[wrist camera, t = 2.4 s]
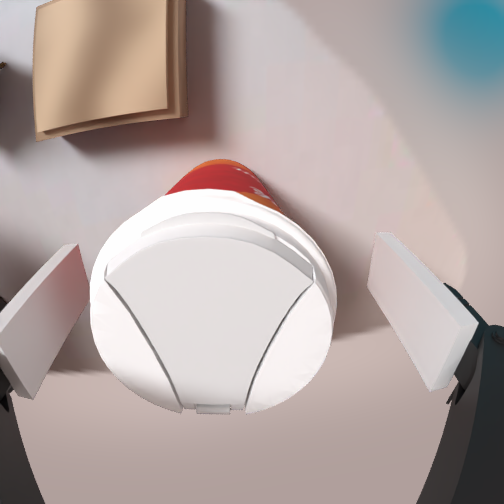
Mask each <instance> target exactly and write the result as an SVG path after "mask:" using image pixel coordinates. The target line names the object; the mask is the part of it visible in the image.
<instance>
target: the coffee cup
mask: <svg viewBox="0 0 504 504" xmlns="http://www.w3.org/2000/svg"><path fill="white" fill-rule="evenodd" d="M90 303H91V308H90V320H91V329H92V334H93V338H94V342H95V344H96V347H97V349H98V351H99V354H100V356H101V358H102V359H103V361H104V362H105V364H106V365H107V367H108V368H109V370H110V371H111V372H112V373H113V374H114V375H115V377H116V378H117V379H118V380H120V382H122V383H123V384H124V385H125V386H126V387H127V388H128V389H130V390H131V391H133V392H134V393H136V394H137V395H139V396H140V397H142V398H143V399H145V400H147V401H149V402H151V403H153V404H155V405H158V406H160V407H163V408H165V409H168V410H171V411H174V412H178V413H181V412H182V409H183V407H184V408H185V409H196V412H197V414H230V410H243V408H244V405H245V413H246V414H250V413H255V412H259V411H262V410H265V409H267V408H270V407H273V406H275V405H277V404H279V403H281V402H283V401H285V400H286V399H288V398H290V397H291V396H293V395H294V394H296V393H297V392H299V391H300V390H301V389H302V388H303V387H304V386H305V385H307V384H308V383H309V382H310V380H311V379H312V378H313V377H314V376H315V375H316V373H317V372H318V371H319V369H320V367H321V366H322V364H323V362H324V361H325V358H326V356H327V353H328V350H329V348H330V345H331V341H332V334H333V324H334V321H335V316H336V309H337V290H336V284H335V280H334V276H333V272H332V270H331V268H330V266H329V263H328V261H327V259H326V257H325V255H324V253H323V252H322V251H321V249H320V248H319V247H318V245H317V244H316V243H315V241H314V240H313V238H312V237H310V236H309V235H308V234H307V233H306V232H305V231H304V230H303V229H302V228H301V227H300V226H299V225H298V224H296V223H295V222H293V221H292V220H290V219H289V218H287V217H286V216H284V214H283V213H282V211H281V210H280V208H279V207H278V205H277V204H276V203H275V201H274V200H273V198H272V197H271V196H270V194H269V193H268V191H267V190H266V189H265V187H264V186H263V185H262V183H261V182H260V181H259V179H258V178H257V177H256V176H255V175H254V173H252V172H251V171H250V170H249V169H248V168H247V167H245V166H244V165H242V164H240V163H238V162H235V161H232V160H226V159H216V160H211V161H207V162H205V163H202V164H200V165H199V166H197V167H195V168H194V169H193V170H191V171H190V172H189V173H188V174H187V175H185V176H184V177H183V178H182V179H181V180H180V181H179V182H178V183H177V184H176V185H175V186H174V187H173V188H172V189H171V190H169V191H168V192H167V193H166V194H165V195H164V196H162V197H160V198H159V199H157V200H156V201H154V202H153V203H152V204H150V205H149V206H147V207H146V208H145V209H143V210H142V211H140V212H139V213H137V214H136V215H134V216H133V217H131V218H130V219H128V220H127V221H125V222H124V223H123V224H122V225H121V226H120V227H119V228H118V229H117V230H116V231H115V232H114V233H113V234H112V235H111V236H110V237H109V239H108V240H107V242H106V243H105V245H104V246H103V248H102V249H101V251H100V253H99V255H98V257H97V260H96V262H95V265H94V267H93V271H92V276H91V281H90ZM230 407H231V408H230Z"/></svg>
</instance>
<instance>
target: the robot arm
mask: <svg viewBox="0 0 504 504" xmlns="http://www.w3.org/2000/svg"><path fill="white" fill-rule="evenodd" d="M367 288H368V290H369V291H370V293H371V294H372V296H373V297H374V299H375V300H376V302H377V304H378V305H379V307H380V308H381V310H382V312H383V313H384V315H385V316H386V318H387V320H388V321H389V323H390V325H391V326H392V328H393V329H394V331H395V333H396V334H397V336H398V338H399V339H400V341H401V342H402V344H403V346H404V348H405V349H406V351H407V353H408V355H409V356H410V358H411V360H412V362H413V363H414V365H415V367H416V369H417V370H418V372H419V374H420V376H421V378H422V379H423V381H424V383H425V385H426V387H427V388H428V390H429V392H432V391H435V390H438V389H442V388H445V387H447V386H448V384H449V382H450V381H451V379H452V377H453V375H455V376H456V378H457V380H458V381H459V382H458V384H457V386H456V387H455V389H454V390H453V392H452V394H451V396H450V397H449V399H448V401H447V402H446V404H449V403H450V401H451V400H452V402H451V406H450V410H449V414H448V418H447V421H446V425H445V428H444V431H443V435H442V438H441V441H440V444H439V447H438V450H437V453H436V456H435V459H434V461H433V464H432V467H431V470H430V472H429V475H428V477H427V480H426V482H425V485H424V487H423V489H422V492H421V494H420V497H419V499H418V501H417V503H416V504H504V327H502V326H498V325H490V326H489V325H488V324H487V323H486V322H485V321H484V320H483V318H482V317H481V316H480V315H479V314H478V313H477V312H476V311H475V310H474V308H472V306H469V303H468V302H467V301H466V300H465V299H463V297H462V296H461V295H460V294H459V292H458V291H457V290H456V289H454V288H452V287H451V286H449V285H448V284H446V283H442V282H441V281H440V280H439V279H438V278H437V277H436V276H435V275H434V274H433V273H432V272H431V271H430V270H429V269H428V268H427V267H426V266H425V265H424V264H423V263H422V262H421V261H420V260H419V259H418V258H417V257H416V256H415V255H414V254H413V253H412V252H411V251H410V250H409V249H408V248H407V247H406V246H405V245H404V244H403V243H402V242H401V241H399V240H398V239H397V238H396V237H395V236H394V235H393V234H392V233H391V232H377V233H375V240H374V247H373V253H372V259H371V265H370V271H369V277H368V282H367ZM89 300H90V287H89V283H88V280H87V276H86V273H85V269H84V265H83V261H82V258H81V254H80V250H79V245H78V244H65V245H64V246H63V247H61V248H60V249H59V250H58V251H57V252H56V253H55V254H54V255H53V256H52V257H51V258H50V259H49V260H48V261H47V262H46V263H45V264H44V265H43V266H42V267H41V268H40V269H39V271H38V272H37V273H36V274H35V275H34V276H33V277H32V278H31V279H30V280H29V281H28V282H27V283H26V284H25V285H24V286H23V288H22V289H21V290H20V291H19V292H18V293H17V294H16V295H15V296H14V298H13V299H12V300H11V301H10V302H9V303H8V304H6V303H5V302H4V301H3V300H2V299H1V298H0V504H45V502H44V500H43V498H42V495H41V493H40V490H39V488H38V485H37V483H36V481H35V478H34V475H33V472H32V469H31V467H30V464H29V461H28V458H27V455H26V452H25V448H24V445H23V442H22V439H21V435H20V431H19V428H18V424H17V420H16V416H15V412H14V407H13V403H12V398H11V396H10V394H9V393H11V392H12V391H13V390H15V392H16V393H17V395H18V396H21V397H24V398H28V399H32V400H33V399H34V397H35V395H36V394H37V392H38V390H39V388H40V385H41V384H42V382H43V380H44V378H45V376H46V374H47V372H48V370H49V368H50V367H51V365H52V363H53V361H54V359H55V357H56V356H57V354H58V352H59V350H60V348H61V347H62V345H63V343H64V341H65V340H66V338H67V336H68V335H69V333H70V331H71V329H72V328H73V326H74V324H75V323H76V321H77V319H78V318H79V316H80V315H81V313H82V311H83V310H84V308H85V306H86V305H87V303H88V302H89Z"/></svg>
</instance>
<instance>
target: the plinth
mask: <svg viewBox="0 0 504 504" xmlns="http://www.w3.org/2000/svg"><path fill="white" fill-rule="evenodd" d="M33 107H34V122H35V134H36V142H39V141H43V140H47V139H51V138H55V137H59V136H64V135H68V134H73V133H78V132H83V131H88V130H93V129H99V128H104V127H110V126H117V125H123V124H130V123H137V122H145V121H153V120H162V119H171V118H181V117H188V107H187V75H186V0H52V1H50V2H48V3H45V4H43V5H40V6H38V7H37V8H36V17H35V27H34V42H33Z"/></svg>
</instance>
